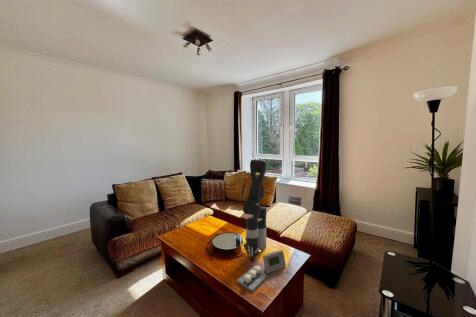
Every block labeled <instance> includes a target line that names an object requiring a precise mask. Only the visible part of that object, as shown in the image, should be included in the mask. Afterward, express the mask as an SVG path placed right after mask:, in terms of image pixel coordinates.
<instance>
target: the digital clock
mask: <svg viewBox="0 0 476 317" xmlns="http://www.w3.org/2000/svg"><path fill="white" fill-rule="evenodd" d="M284 254H285V253H284V250H283V249H281V250H280V249H279V250H276V251H273V252H269V253H267V254H263V256H262V260H263V265H264V266H263V267H264V271H265V272H264V273H265V274H269V273H273V272H276V271H279V270H281V269H284V268H285V267H286V266H287V264H286V260H285V259H286V258H285V255H284Z"/></svg>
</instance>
